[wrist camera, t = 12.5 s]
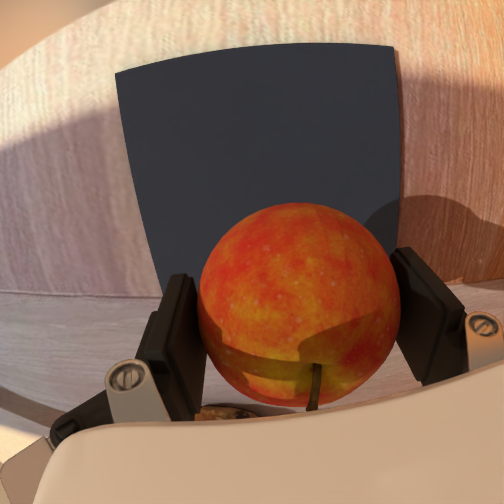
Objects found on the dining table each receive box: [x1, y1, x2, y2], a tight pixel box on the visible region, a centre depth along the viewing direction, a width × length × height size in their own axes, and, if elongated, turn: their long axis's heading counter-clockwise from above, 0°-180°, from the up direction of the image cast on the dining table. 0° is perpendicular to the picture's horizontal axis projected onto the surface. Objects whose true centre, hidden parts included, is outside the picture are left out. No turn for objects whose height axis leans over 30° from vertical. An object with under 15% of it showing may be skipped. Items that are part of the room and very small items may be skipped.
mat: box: [115, 43, 400, 295], centre depth 19 cm, size 20×16×1 cm
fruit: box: [197, 203, 401, 412], centre depth 10 cm, size 7×7×8 cm
